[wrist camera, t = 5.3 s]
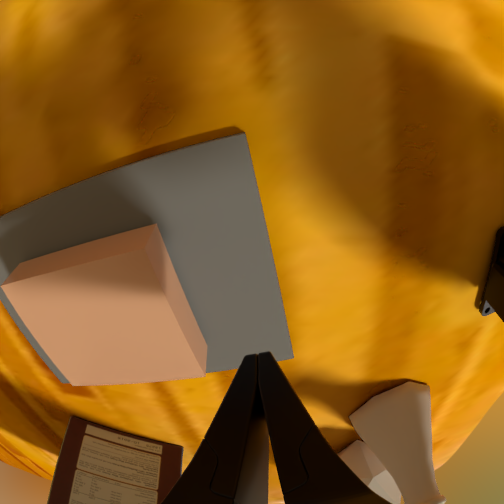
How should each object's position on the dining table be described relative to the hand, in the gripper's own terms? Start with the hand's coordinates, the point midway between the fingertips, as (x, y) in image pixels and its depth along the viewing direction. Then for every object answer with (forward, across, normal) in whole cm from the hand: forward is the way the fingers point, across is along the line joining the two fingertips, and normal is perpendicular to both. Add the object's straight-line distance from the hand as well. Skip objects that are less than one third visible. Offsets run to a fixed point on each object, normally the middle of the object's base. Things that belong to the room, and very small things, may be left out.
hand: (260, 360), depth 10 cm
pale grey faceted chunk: (+6, -5, +24) cm, 25 cm away
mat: (+5, +7, 0) cm, 9 cm away
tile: (+3, +3, 0) cm, 5 cm away
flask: (+6, -8, +16) cm, 19 cm away
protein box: (+5, +18, +20) cm, 27 cm away
